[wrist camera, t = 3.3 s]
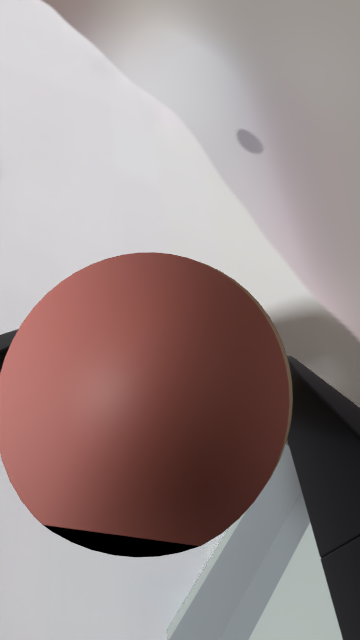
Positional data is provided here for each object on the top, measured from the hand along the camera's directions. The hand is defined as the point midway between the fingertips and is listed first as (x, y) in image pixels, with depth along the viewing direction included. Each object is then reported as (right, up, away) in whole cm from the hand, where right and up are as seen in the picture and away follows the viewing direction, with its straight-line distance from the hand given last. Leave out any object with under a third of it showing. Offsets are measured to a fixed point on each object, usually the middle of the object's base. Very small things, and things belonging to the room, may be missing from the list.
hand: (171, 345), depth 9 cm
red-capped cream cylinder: (0, -3, +6) cm, 7 cm away
